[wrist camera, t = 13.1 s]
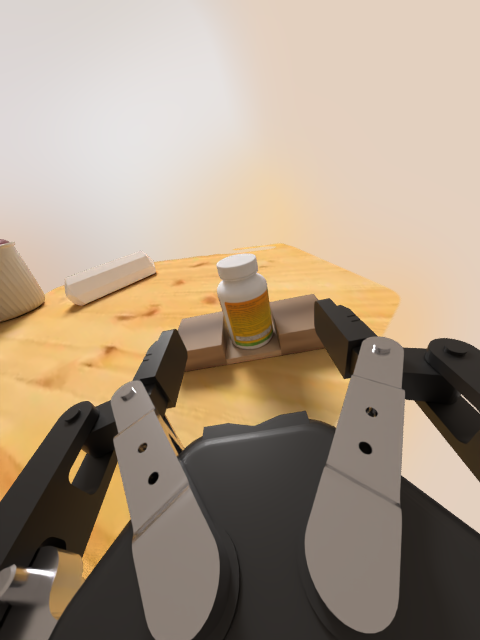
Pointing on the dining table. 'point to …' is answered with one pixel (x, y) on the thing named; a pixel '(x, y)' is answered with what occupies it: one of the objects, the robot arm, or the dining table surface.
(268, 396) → the dining table surface
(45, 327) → the dining table surface
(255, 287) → the supplement bottle
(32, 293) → the canister
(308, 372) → the dining table surface
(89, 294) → the crystal
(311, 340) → the brown wooden cradle
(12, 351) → the dining table surface
